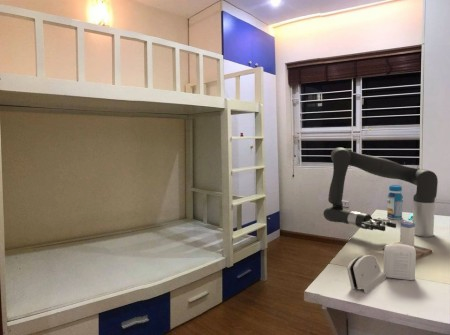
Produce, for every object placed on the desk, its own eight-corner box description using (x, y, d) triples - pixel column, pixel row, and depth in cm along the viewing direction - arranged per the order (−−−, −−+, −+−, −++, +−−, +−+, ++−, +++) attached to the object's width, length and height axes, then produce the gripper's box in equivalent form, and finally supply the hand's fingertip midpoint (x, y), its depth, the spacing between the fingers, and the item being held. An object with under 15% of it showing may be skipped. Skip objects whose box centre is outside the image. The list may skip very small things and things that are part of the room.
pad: (400, 243, 153) (400, 241, 153) (432, 252, 141) (432, 249, 141) (382, 249, 146) (382, 247, 145) (414, 259, 134) (414, 256, 133)
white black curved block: (365, 293, 106) (356, 263, 108) (352, 293, 110) (343, 264, 111) (386, 277, 117) (377, 250, 119) (373, 278, 121) (365, 251, 122)
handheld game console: (430, 216, 202) (430, 214, 202) (428, 222, 189) (428, 220, 189) (411, 214, 208) (411, 212, 208) (408, 220, 195) (408, 218, 195)
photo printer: (413, 276, 118) (414, 243, 117) (416, 281, 114) (417, 247, 113) (382, 273, 121) (383, 241, 120) (384, 278, 117) (385, 245, 116)
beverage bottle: (401, 220, 194) (402, 187, 192) (386, 218, 198) (386, 186, 196) (402, 217, 201) (404, 185, 199) (387, 215, 205) (388, 184, 203)
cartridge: (405, 246, 146) (405, 221, 145) (414, 249, 142) (414, 223, 141) (399, 248, 144) (400, 222, 143) (408, 250, 140) (409, 224, 139)
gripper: (350, 214, 159) (381, 221, 145) (368, 210, 166) (399, 217, 152) (350, 229, 159) (381, 238, 146) (368, 225, 167) (399, 232, 153)
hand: (390, 227), depth 149 cm, fingers open, 8 cm apart
